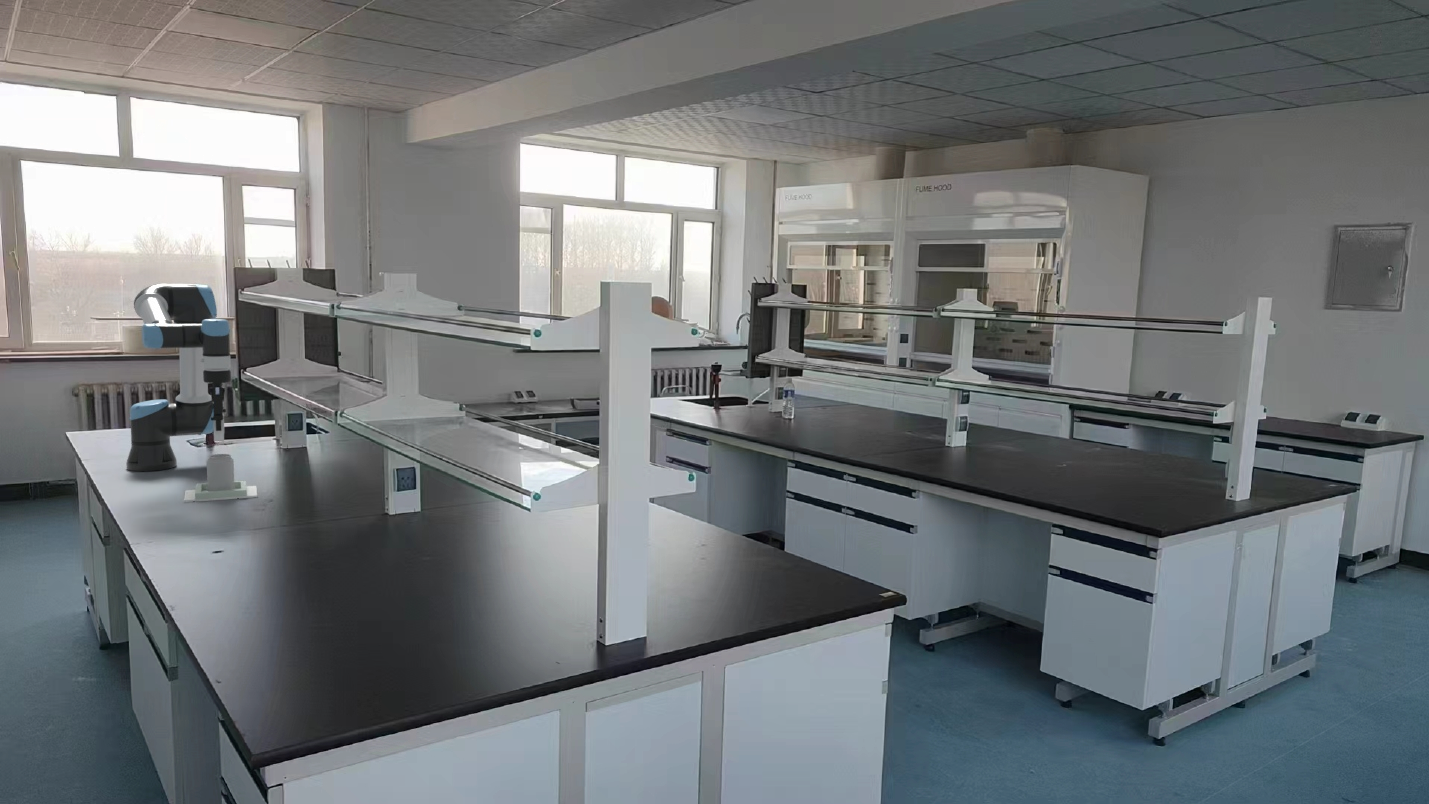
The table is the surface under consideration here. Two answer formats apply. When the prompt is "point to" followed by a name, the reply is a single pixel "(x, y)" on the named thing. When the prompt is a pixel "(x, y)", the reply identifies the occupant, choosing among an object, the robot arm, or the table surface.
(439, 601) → the table surface
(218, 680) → the table surface
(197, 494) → the green and white tray
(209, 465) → the can
